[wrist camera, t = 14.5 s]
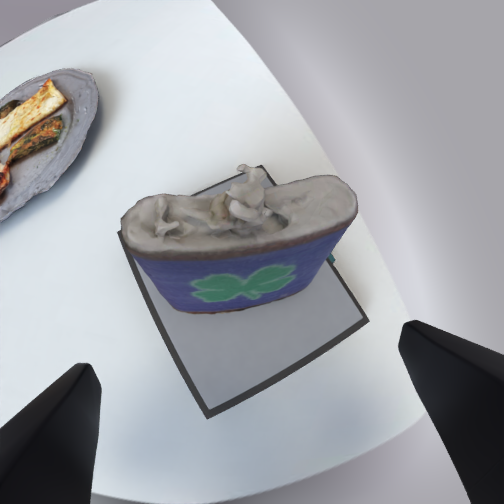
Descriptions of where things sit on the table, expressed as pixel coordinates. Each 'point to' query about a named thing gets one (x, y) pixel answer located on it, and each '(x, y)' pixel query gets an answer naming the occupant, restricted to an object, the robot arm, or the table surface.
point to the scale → (252, 332)
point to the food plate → (42, 133)
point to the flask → (238, 240)
